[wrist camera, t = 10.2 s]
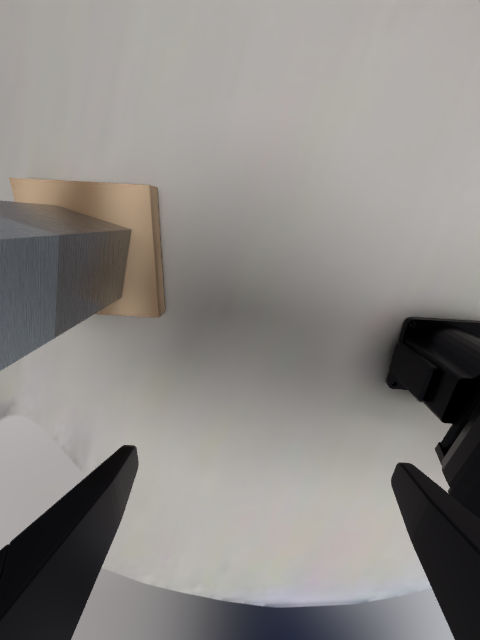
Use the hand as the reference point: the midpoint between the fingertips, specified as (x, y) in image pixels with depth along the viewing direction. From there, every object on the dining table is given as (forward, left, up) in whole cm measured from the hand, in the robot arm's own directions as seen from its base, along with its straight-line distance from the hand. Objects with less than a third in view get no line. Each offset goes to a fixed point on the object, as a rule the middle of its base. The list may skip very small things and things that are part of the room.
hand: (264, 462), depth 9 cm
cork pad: (+12, -5, -13) cm, 18 cm away
